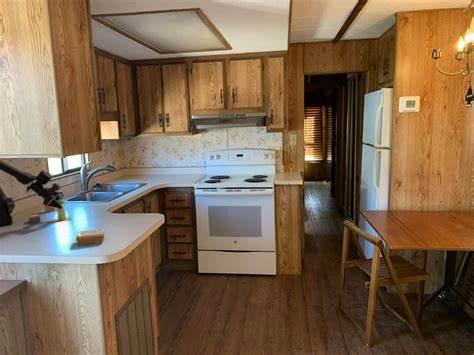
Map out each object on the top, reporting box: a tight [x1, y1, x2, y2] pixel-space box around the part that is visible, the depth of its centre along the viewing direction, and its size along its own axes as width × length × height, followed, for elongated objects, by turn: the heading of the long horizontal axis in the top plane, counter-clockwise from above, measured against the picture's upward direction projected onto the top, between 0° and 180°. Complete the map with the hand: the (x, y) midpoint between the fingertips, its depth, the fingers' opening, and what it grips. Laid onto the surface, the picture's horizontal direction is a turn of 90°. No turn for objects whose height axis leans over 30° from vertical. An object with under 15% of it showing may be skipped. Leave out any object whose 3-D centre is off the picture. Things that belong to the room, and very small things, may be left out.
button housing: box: [28, 214, 42, 224], centre depth 211 cm, size 6×6×4 cm
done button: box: [29, 214, 39, 218], centre depth 211 cm, size 4×4×2 cm
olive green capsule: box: [56, 199, 67, 220], centre depth 213 cm, size 4×4×12 cm
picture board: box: [41, 216, 72, 224], centre depth 216 cm, size 18×17×1 cm
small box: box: [43, 199, 58, 213], centre depth 241 cm, size 8×6×10 cm
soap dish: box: [75, 228, 105, 246], centre depth 170 cm, size 12×10×5 cm
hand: (63, 206), depth 213 cm, fingers open, 9 cm apart
